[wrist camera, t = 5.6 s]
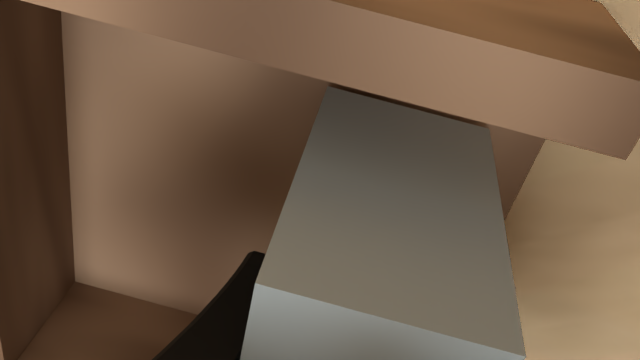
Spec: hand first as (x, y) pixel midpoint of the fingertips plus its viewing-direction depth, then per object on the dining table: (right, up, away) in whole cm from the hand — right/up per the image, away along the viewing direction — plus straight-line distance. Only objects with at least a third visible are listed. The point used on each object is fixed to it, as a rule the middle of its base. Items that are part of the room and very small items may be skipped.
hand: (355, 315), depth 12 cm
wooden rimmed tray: (-2, +3, +3) cm, 5 cm away
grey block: (0, +2, +2) cm, 3 cm away
